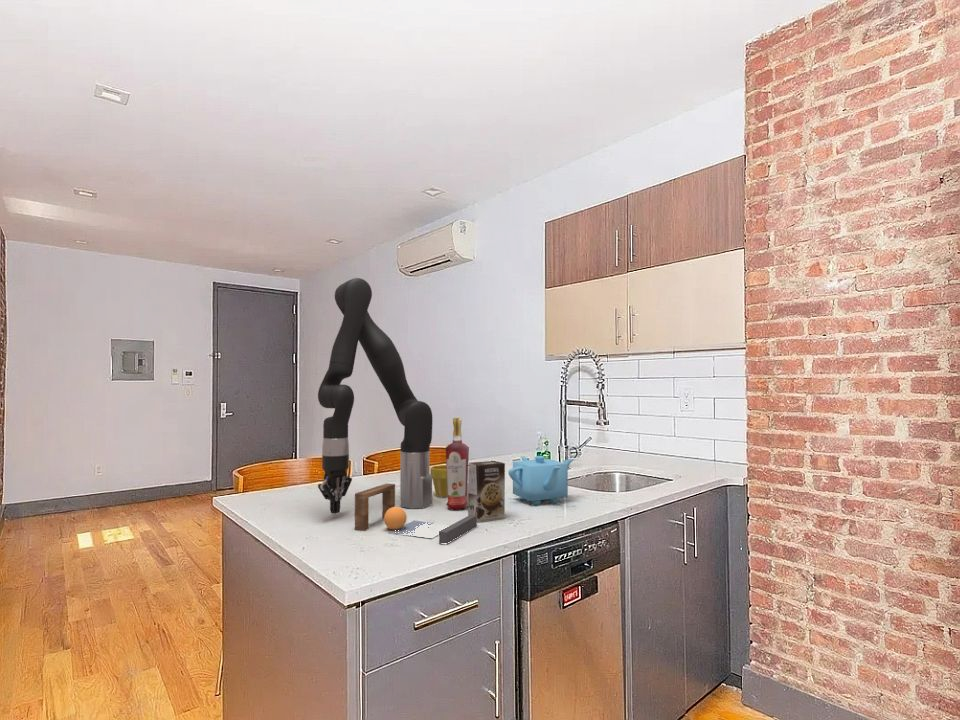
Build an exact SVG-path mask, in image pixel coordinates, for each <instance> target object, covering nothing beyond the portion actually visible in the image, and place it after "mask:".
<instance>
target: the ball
mask: <svg viewBox="0 0 960 720" xmlns="http://www.w3.org/2000/svg"><path fill="white" fill-rule="evenodd" d="M407 519H408V517H407V514H406V511H405V510H404V509H403V507H401V506H400V507H398V506H395V507H392V508H390V509H388V510H387V511H386V513H385V516H384V518H383V521H384V524H385V526H386V527H387V528H388V529H390V530H391V531H393V530H398V529H400V528H402V527H403V526H404V525H405V524H407V523H406V522H407Z"/></svg>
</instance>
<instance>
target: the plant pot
mask: <svg viewBox="0 0 960 720" xmlns="http://www.w3.org/2000/svg"><path fill="white" fill-rule="evenodd" d="M430 474H431V475H432V485H433V487H434V492H435V496H436V497H439V498H448V494H447V469H446V464H438V465H433V466H430Z"/></svg>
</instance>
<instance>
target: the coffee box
mask: <svg viewBox="0 0 960 720" xmlns="http://www.w3.org/2000/svg"><path fill="white" fill-rule="evenodd" d="M468 465H469V490H468V505H467V507H468V508H467V516H469V515H477V523H482V521H483V522H489V521H498V520H505V519H506V518H505V514H506V513H505V512H506V511H505V509H506V507H505V505H506V504H505V503H506V497H505V496H506V494H505V493H506V491H505V490H506V488H505V487H506V463H505V462H501V461H496V460H491V461H489V460H488V461H487V460H486V461H476V462H475V461H474V462H468Z"/></svg>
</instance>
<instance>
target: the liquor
mask: <svg viewBox="0 0 960 720" xmlns="http://www.w3.org/2000/svg"><path fill="white" fill-rule="evenodd" d="M462 420H463V419H462V418H461V417H453V418H452V425H453V432H452V442H451V443H450V444H447V445H446V447H445V465H446V469H447V494H448V497H447V502H446V503H445V505H446V506H447V507H448V508H449V510H451V509H453V510H452V511H460V509H462V510H464V509H465V508H466V507H468V503H467V478H468V465H469V459H470V458H469V455H470V454H469V453H470V452H469V451H470V447H469V446H468V445H467V444H466V443H463V438H462V437H463V435H462Z"/></svg>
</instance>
